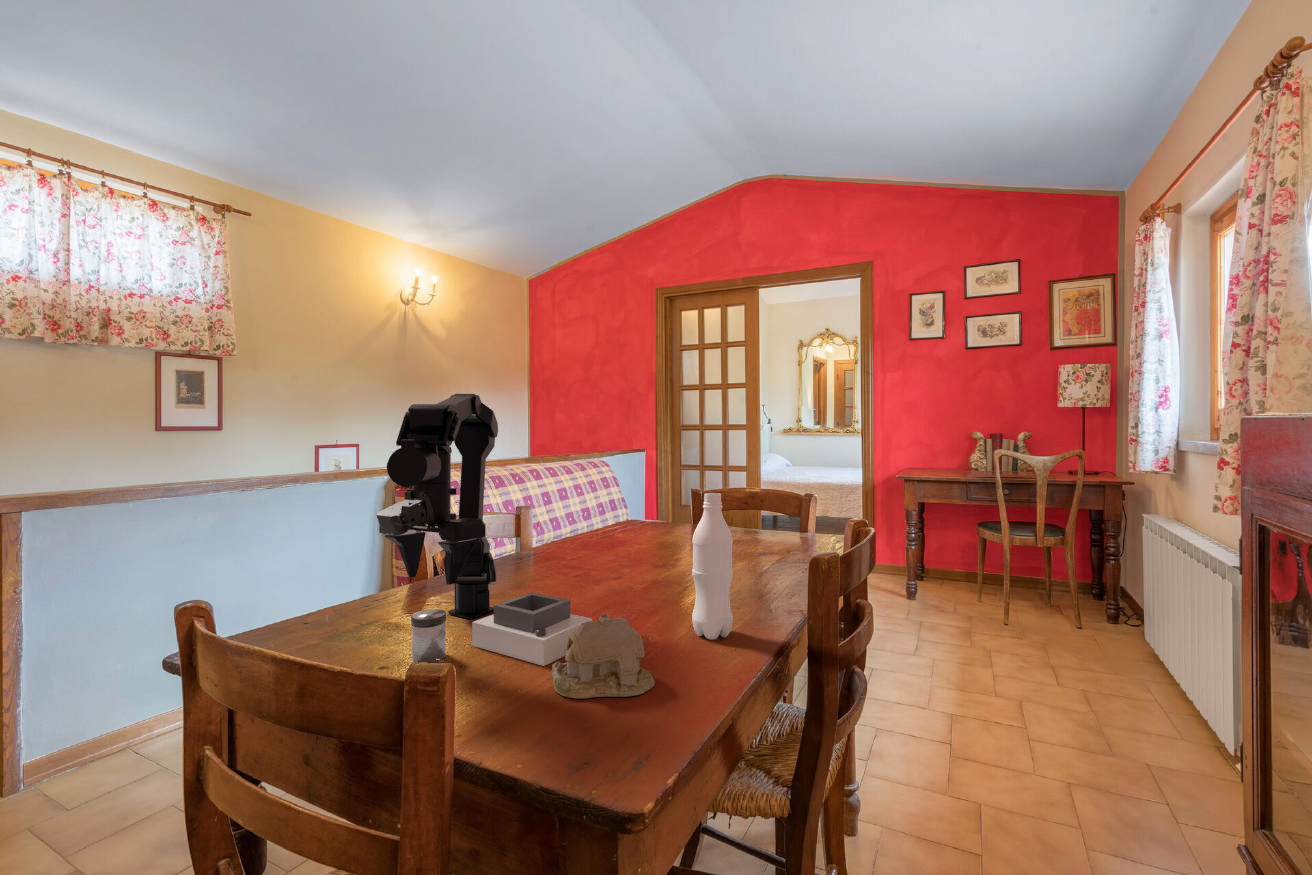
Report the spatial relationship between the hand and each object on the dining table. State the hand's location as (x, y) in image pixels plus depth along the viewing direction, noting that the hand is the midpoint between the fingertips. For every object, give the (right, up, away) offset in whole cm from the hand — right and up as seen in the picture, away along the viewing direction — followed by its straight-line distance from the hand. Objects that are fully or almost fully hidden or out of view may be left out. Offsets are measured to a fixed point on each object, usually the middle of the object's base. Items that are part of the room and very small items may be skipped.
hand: (431, 580), depth 94 cm
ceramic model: (+28, -13, -9) cm, 32 cm away
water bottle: (+46, -12, +11) cm, 49 cm away
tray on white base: (+15, -12, +6) cm, 20 cm away
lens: (-1, -12, 0) cm, 12 cm away
